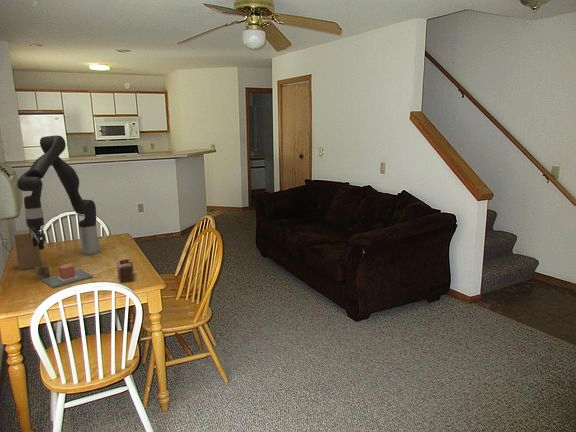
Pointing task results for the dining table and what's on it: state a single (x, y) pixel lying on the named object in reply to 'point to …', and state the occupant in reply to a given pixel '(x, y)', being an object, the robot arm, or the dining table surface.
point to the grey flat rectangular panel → (57, 281)
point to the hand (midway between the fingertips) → (38, 247)
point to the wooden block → (26, 250)
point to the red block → (66, 271)
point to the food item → (125, 270)
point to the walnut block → (42, 272)
